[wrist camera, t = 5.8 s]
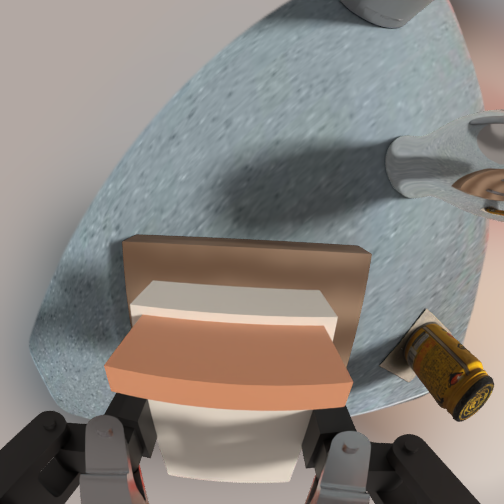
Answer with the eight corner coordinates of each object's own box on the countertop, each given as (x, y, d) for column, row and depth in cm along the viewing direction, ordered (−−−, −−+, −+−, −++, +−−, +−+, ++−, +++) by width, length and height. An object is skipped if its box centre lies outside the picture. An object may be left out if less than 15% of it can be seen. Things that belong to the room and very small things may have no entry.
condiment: (450, 332, 26) (505, 383, 15) (408, 381, 28) (449, 443, 16) (425, 307, 25) (491, 364, 14) (377, 364, 27) (422, 437, 15)
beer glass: (427, 212, 23) (547, 248, 8) (372, 186, 22) (504, 202, 7) (441, 150, 21) (559, 146, 6) (389, 119, 20) (510, 78, 6)
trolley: (163, 269, 10) (87, 351, 4) (311, 278, 10) (372, 370, 4) (179, 429, 12) (159, 513, 6) (282, 435, 12) (294, 522, 6)
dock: (136, 234, 23) (104, 250, 17) (358, 245, 23) (388, 264, 17) (152, 375, 27) (135, 411, 21) (329, 384, 27) (342, 421, 21)
